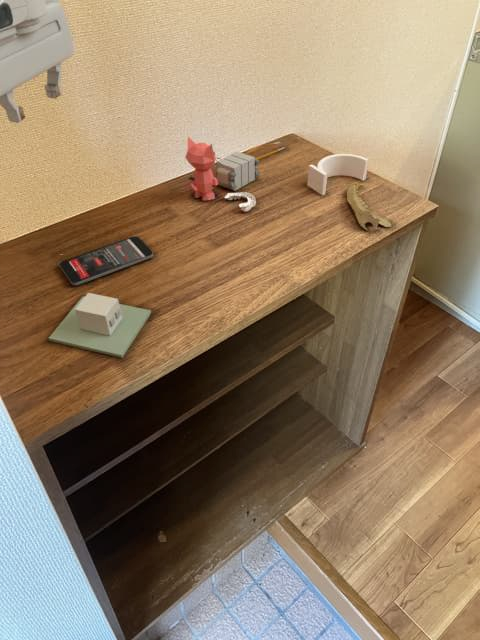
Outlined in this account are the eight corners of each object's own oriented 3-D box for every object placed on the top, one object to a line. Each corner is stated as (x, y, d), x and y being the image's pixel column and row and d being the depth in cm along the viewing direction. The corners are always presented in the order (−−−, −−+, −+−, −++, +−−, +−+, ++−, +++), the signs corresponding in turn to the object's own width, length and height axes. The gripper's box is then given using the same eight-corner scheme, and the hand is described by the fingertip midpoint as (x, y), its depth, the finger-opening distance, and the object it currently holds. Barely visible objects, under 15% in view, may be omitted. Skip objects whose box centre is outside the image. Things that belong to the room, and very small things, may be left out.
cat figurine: (227, 194, 108) (225, 138, 99) (206, 208, 104) (202, 151, 95) (201, 184, 111) (197, 129, 103) (179, 198, 107) (173, 141, 99)
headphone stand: (324, 175, 104) (369, 159, 109) (305, 163, 108) (349, 148, 113) (322, 195, 107) (365, 179, 112) (304, 183, 111) (346, 168, 116)
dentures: (243, 187, 108) (243, 194, 108) (223, 194, 106) (223, 201, 106) (263, 200, 103) (263, 206, 104) (243, 207, 101) (243, 214, 102)
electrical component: (300, 133, 118) (299, 155, 121) (279, 127, 121) (279, 148, 124) (232, 170, 104) (233, 193, 108) (210, 162, 107) (211, 185, 111)
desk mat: (49, 340, 77) (48, 338, 77) (83, 298, 84) (82, 296, 84) (122, 358, 74) (121, 355, 74) (151, 313, 81) (151, 310, 81)
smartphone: (57, 262, 90) (136, 234, 96) (58, 265, 90) (137, 238, 96) (72, 284, 85) (154, 254, 91) (73, 287, 86) (155, 257, 92)
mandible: (396, 226, 97) (385, 240, 99) (362, 182, 109) (353, 195, 111) (374, 216, 95) (363, 230, 96) (342, 172, 106) (332, 185, 108)
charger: (80, 329, 78) (74, 309, 75) (93, 312, 81) (88, 292, 78) (112, 336, 77) (107, 316, 74) (124, 318, 80) (120, 299, 77)
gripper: (34, -19, 75) (57, 81, 84) (-68, 16, 60) (-27, 132, 70) (73, -16, 73) (92, 86, 83) (-23, 21, 59) (13, 139, 69)
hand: (37, 108), depth 76 cm, fingers open, 8 cm apart
